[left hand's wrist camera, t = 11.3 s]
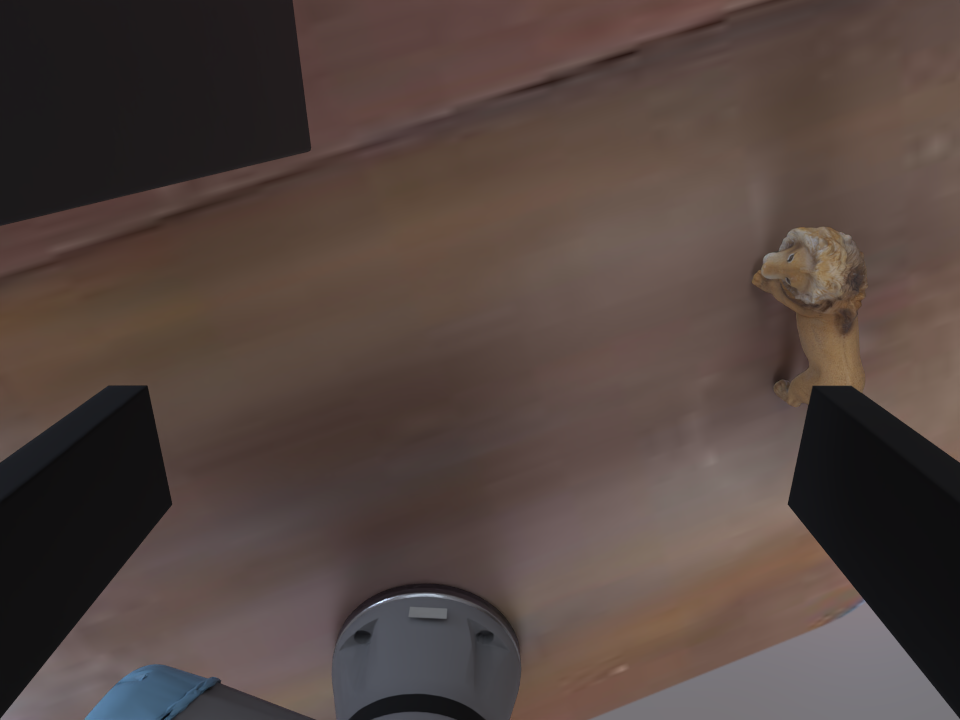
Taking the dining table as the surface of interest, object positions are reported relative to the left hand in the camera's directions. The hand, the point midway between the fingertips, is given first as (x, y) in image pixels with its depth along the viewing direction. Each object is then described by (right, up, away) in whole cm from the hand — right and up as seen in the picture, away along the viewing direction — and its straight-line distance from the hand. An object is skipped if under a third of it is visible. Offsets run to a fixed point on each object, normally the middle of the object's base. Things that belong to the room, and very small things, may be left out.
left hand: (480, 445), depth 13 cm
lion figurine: (+20, +5, +28) cm, 35 cm away
